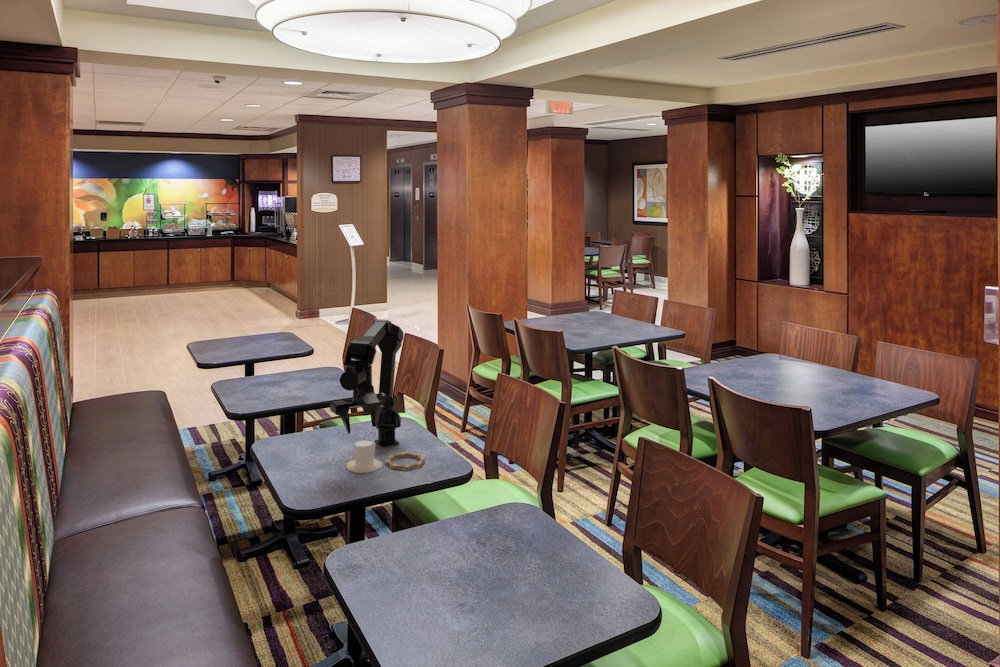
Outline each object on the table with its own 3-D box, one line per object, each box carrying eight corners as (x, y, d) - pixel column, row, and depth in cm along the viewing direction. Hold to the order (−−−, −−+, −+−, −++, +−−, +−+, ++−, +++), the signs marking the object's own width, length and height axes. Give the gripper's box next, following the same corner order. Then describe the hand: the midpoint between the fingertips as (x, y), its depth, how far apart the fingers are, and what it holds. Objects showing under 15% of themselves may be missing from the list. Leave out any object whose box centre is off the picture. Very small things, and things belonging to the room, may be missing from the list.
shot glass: (356, 460, 226) (356, 438, 224) (378, 461, 225) (377, 439, 224) (350, 468, 219) (349, 446, 217) (372, 469, 218) (372, 447, 217)
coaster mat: (340, 463, 224) (340, 462, 224) (374, 456, 229) (374, 455, 229) (353, 475, 215) (353, 474, 214) (388, 468, 220) (387, 467, 220)
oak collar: (381, 460, 227) (381, 456, 226) (413, 453, 233) (413, 450, 232) (396, 472, 217) (395, 469, 217) (429, 465, 223) (429, 461, 223)
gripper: (341, 392, 205) (343, 444, 208) (401, 384, 215) (402, 433, 218) (328, 383, 214) (330, 433, 217) (387, 375, 224) (387, 423, 227)
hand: (363, 430), depth 220 cm, fingers open, 9 cm apart
